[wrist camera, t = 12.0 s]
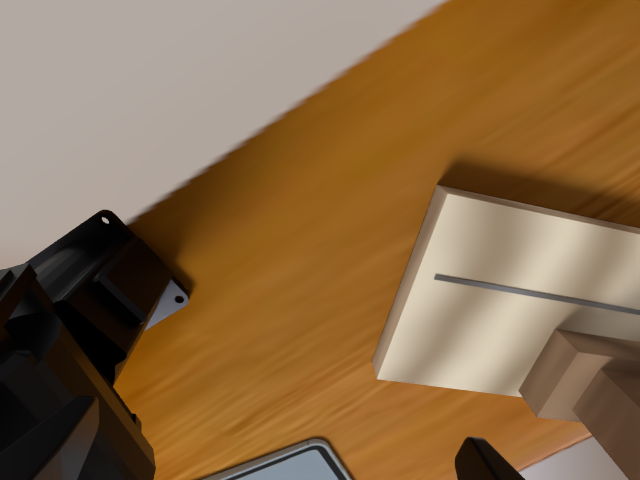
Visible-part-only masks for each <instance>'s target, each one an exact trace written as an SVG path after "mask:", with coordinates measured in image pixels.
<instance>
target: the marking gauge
mask: <svg viewBox="0 0 640 480" xmlns="http://www.w3.org/2000/svg"><path fill="white" fill-rule="evenodd" d="M518 391H519V393H520V394H521V395H522V397H523V398H524V400H525V401H526V403H527V404H528V406H529V407H530V408H531V410H532V411H533V413H534V414H535V416H536V417H541V418H549V419H558V420H567V421H575V422H582V423H583V424H584V425H585V426H586V428H587V429H588V430H589V431H590V433H591V434H592V435H593V436H594V437H595V439H596V440H597V441H598V442H599V444H600V445H601V446H602V447H603V449H604V450H605V451H606V452H607V453H608V455H609V456H610V457H611V458H612V460H613V461H614V462H615V463H616V464H617V466H618V467H619V468H620V469H621V470H622V472H623V473H624V474H625V476H626V477H627V478H628V479H629V480H640V342H636V341H630V340H624V339H617V338H611V337H605V336H599V335H592V334H586V333H580V332H573V331H567V330H561V329H554V331H553V333H552V334H551V336H550V338H549V339H548V341H547V343H546V344H545V346H544V348H543V350H542V351H541V353H540V355H539V356H538V358H537V360H536V361H535V363H534V365H533V366H532V368H531V370H530V371H529V373H528V375H527V376H526V378H525V380H524V382H523V383H522V385H521V387H520V388H519V390H518Z"/></svg>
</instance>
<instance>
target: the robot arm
mask: <svg viewBox="0 0 640 480" xmlns="http://www.w3.org/2000/svg"><path fill="white" fill-rule="evenodd" d="M102 217H104V218H106V219H108V221H109V224H107V223H105V222H103V220H102ZM177 296H182V297H183V298H184V299H179V298H177ZM189 299H190V293H189V292H188V290H187V289H186V288H185V287H184V286H183V285H182V284H181V283H180V282H179V281H178V280H177V279H176V278H175V277H174V276H173V275H172V271H171V270H170V269H169V268H168V267H167V266H166V265H165V264H164V263H163V262H162V260H161V259H160V258H159V257H158V256H157V255H156V254H155V253H154V252H153V251H152V250H151V249H150V248H149V247H148V246H147V245H146V244H145V243H144V241H143V240H142V239H140V238H137V237H136V236H135V235H134V234H133V233H132V232H131V230H130V229H129V228H128V227H127V226H126V225H125V224H124V223H123V222H122V221H121V220H120V219H119V218H118V217H117V216H116V215H115V214H114V213H113V212H112V211H109V210H102V211H99V212H98V213H96V214H95V215H93V216H92V217H90V218H89V219H88V220H86V221H85V222H83V223H82V224H80V225H79V226H78V227H76V228H75V229H73V230H72V231H70V232H69V233H68V234H66V235H65V236H63V237H62V238H60V239H59V240H57V241H56V242H54V243H53V244H52V245H50V246H49V247H47V248H46V249H45V250H43V251H42V252H40V253H39V254H37V255H36V256H34V257H33V258H31V259H30V260H29V261H27V262H26V263H24V264H21V265H18V266H14V267H11V268H7V269H2V270H0V480H153V479H154V474H155V470H156V467H155V459H154V452H153V448H152V447H151V445H150V444H149V443H148V441H147V440H146V438H145V437H144V436H143V434H142V433H141V421H140V420H139V418H138V417H137V416H136V414H132V413H131V412H130V410H129V409H128V407H127V406H126V405H125V403H124V402H123V400H122V399H121V398H120V396H119V395H118V393H117V392H116V391H115V389H114V388H113V385H114V384H115V382H116V380H117V378H118V377H119V375H120V373H121V371H122V369H123V368H124V366H125V364H126V362H127V360H128V359H129V357H130V355H131V353H132V351H133V350H134V348H135V346H136V344H137V342H138V341H139V339H140V337H141V335H142V334H143V332H144V331H145V330H146V329H148V328H150V327H151V326H153V325H155V324H156V323H158V322H159V321H161V320H163V319H164V318H166V317H168V316H169V315H171V314H173V313H174V312H176V311H178V310H179V309H181V308H183V307H184V306H186V305H187V304H188V302H189ZM455 469H456V473H457V478H458V480H525V479H524V478H523V477H522V476H521V475H520V474H519V473H518V472H517V471H516V470H515V469H514V468H513V467H512V466H511V465H510V464H509V463H508V462H507V461H506V460H505V459H504V458H503V457H502V456H501V455H500V454H499V453H498V452H497V451H496V450H495V449H494V448H493V447H492V446H491V445H490V444H489V443H488V442H487V441H486V440H485V439H483V438H480V437H467V438H466V439H465V440H464V442H463V444H462V446H461V448H460V449H459V451H458V453H457V455H456V457H455Z"/></svg>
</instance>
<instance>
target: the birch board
mask: <svg viewBox="0 0 640 480" xmlns="http://www.w3.org/2000/svg"><path fill="white" fill-rule="evenodd" d="M554 329H561V330H567V331H573V332H580V333H586V334H592V335H599V336H605V337H611V338H617V339H624V340H630V341H636V342H640V228H635V227H631V226H626V225H622V224H617V223H612V222H608V221H603V220H598V219H594V218H589V217H584V216H580V215H575V214H571V213H566V212H561V211H557V210H552V209H547V208H543V207H538V206H533V205H529V204H524V203H520V202H515V201H510V200H506V199H501V198H496V197H492V196H487V195H482V194H478V193H473V192H469V191H464V190H459V189H455V188H450V187H445V186H441V185H437V186H436V188H435V191H434V194H433V197H432V199H431V202H430V205H429V208H428V210H427V213H426V216H425V218H424V221H423V224H422V227H421V229H420V232H419V235H418V237H417V240H416V243H415V246H414V248H413V251H412V254H411V256H410V259H409V262H408V265H407V267H406V270H405V273H404V276H403V278H402V281H401V284H400V286H399V289H398V292H397V295H396V297H395V300H394V303H393V305H392V308H391V311H390V314H389V316H388V319H387V322H386V325H385V327H384V330H383V333H382V335H381V338H380V341H379V344H378V346H377V349H376V352H375V354H374V357H373V360H372V363H373V367H374V371H375V374H376V378H377V379H381V380H389V381H397V382H405V383H413V384H421V385H429V386H437V387H445V388H453V389H461V390H469V391H477V392H485V393H493V394H501V395H509V396H517V397H522V395H521V394H520V393H519V391H518V390H519V388H520V387H521V385H522V383H523V382H524V380H525V378H526V376H527V375H528V373H529V371H530V370H531V368H532V366H533V365H534V363H535V361H536V360H537V358H538V356H539V355H540V353H541V351H542V350H543V348H544V346H545V344H546V343H547V341H548V339H549V338H550V336H551V334H552V333H553V331H554Z"/></svg>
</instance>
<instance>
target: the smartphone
mask: <svg viewBox="0 0 640 480" xmlns="http://www.w3.org/2000/svg"><path fill="white" fill-rule="evenodd" d="M202 480H352V479H351V478H350V476H349V475H348V473H347V471H346V470H345V469H344V467H343V466H342V465H341V463H340V461H339V460H338V458H337V457H336V456H335V454H334V452H333V451H332V449H331V448H330V447H329V445H328V443H327V442H325V441H324V440H321V439H311V440H307V441H305V442H302V443H299V444H297V445H294V446H291V447H289V448H286V449H283V450H280V451H278V452H275V453H273V454H270V455H267V456H265V457H262V458H259V459H256V460H253V461H251V462H248V463H245V464H243V465H240V466H237V467H235V468H232V469H229V470H226V471H224V472H221V473H218V474H216V475H213V476H210V477H208V478H205V479H202Z"/></svg>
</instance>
